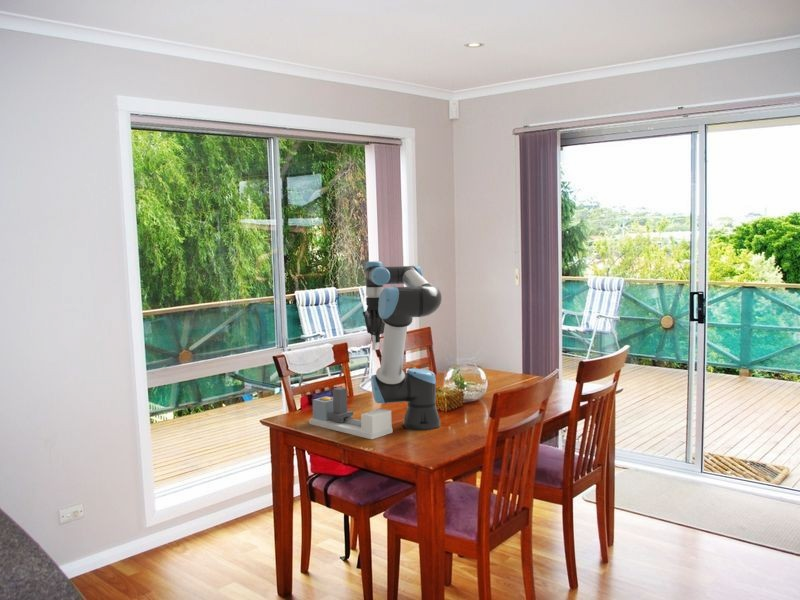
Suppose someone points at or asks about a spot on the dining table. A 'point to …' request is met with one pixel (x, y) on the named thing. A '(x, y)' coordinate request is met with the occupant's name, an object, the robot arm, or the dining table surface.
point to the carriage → (339, 405)
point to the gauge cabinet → (322, 408)
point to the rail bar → (352, 421)
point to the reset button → (325, 398)
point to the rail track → (347, 428)
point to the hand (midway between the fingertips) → (375, 349)
